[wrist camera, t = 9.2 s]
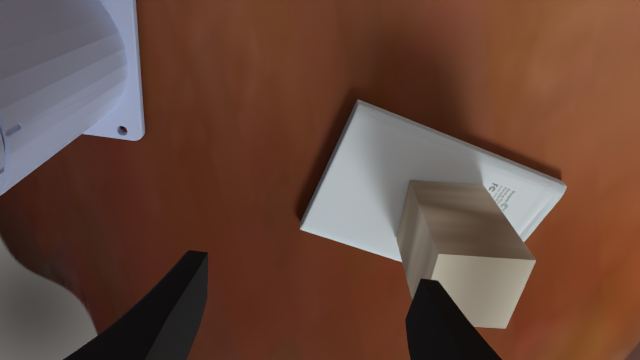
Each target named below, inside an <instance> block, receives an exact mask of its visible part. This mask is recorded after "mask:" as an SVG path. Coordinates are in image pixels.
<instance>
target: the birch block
mask: <svg viewBox="0 0 640 360" xmlns="http://www.w3.org/2000/svg"><path fill="white" fill-rule="evenodd" d="M396 241H397V244H398V248H399V252H400V256H401V260H402V263H403V267H404V271H405V275H406V279H407V282H408V286H409V290H410V294H411V298H412V301H413V298H414V295H415V292H416V290H417V287H418V284H419V282H420V279H421V278H422V279H430V280H438V281H439V282H440V284H441V285H442V286H443V287H444V289H445V290H446V291H447V293H448V294H449V295H450V297H451V298H452V300H453V301H454V302H455V303H456V305H457V306H458V307H459V309H460V310H461V311H462V313H463V314H464V315H465V317H466V318H467V319H468V320H469V322H470V323H471V324H472V325H473V327H488V328H505V329H506V327H507V324H508V322H509V320H510V318H511V315H512V313H513V311H514V309H515V307H516V304H517V302H518V300H519V298H520V295H521V293H522V291H523V289H524V286H525V284H526V282H527V280H528V278H529V275H530V273H531V271H532V269H533V266H534V264H535V262H536V259H535V258H534V257H533V255H532V254H531V252H530V251H529V249H528V248H527V247H526V245H525V244H524V242H523V241H522V239H521V238H520V236H519V235H518V234H517V232H516V231H515V229H514V228H513V226H512V225H511V224H510V222H509V221H508V219H507V218H506V216H505V215H504V214H503V212H502V211H501V209H500V208H499V206H498V205H497V204H496V202H495V201H494V199H493V198H492V196H491V195H490V193H489V192H488V191H487V189H486V188H485V186H484V185H471V184H458V183H444V182H431V181H417V180H410V181H409V185H408V190H407V194H406V199H405V203H404V208H403V212H402V217H401V221H400V226H399V231H398V235H397V240H396Z"/></svg>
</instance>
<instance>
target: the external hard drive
mask: <svg viewBox="0 0 640 360" xmlns="http://www.w3.org/2000/svg"><path fill="white" fill-rule="evenodd" d="M410 180H417V181H431V182H444V183H458V184H471V185H484V186H485V188H486V189H487V191H488V192H489V193H490V195H491V196H492V198H493V199H494V201H495V202H496V204H497V205H498V206H499V208H500V209H501V211H502V212H503V214H504V215H505V216H506V218H507V219H508V221H509V222H510V224H511V225H512V226H513V228H514V229H515V231H516V232H517V234H518V235H519V236H520V238H521V239H522V241H523V242H525V240H526V239H527V238H528V237H529V236H530V234H531V233H532V232H533V231H534V230H535V228H536V227H537V226H538V225H539V224H540V222H541V221H542V220H543V219H544V217H545V216H546V215H547V214H548V213H549V212H550V210H551V209H552V208H553V207H554V206H555V204H556V203H557V202H558V201H559V200H560V198H561V197H562V196H563V194H564V192H565V190H566V188H567V186H566V185H565V184H564V183H563V182H562V181H561V180H559V179H556V178H554V177H551V176H549V175H546V174H544V173H541V172H539V171H536V170H534V169H532V168H529V167H527V166H524V165H522V164H519V163H517V162H514V161H512V160H509V159H507V158H504V157H502V156H499V155H497V154H494V153H492V152H489V151H487V150H484V149H482V148H479V147H477V146H474V145H472V144H469V143H467V142H464V141H462V140H459V139H457V138H454V137H452V136H449V135H447V134H444V133H442V132H439V131H437V130H434V129H432V128H429V127H427V126H424V125H422V124H419V123H417V122H414V121H412V120H409V119H407V118H404V117H402V116H399V115H397V114H394V113H392V112H389V111H387V110H384V109H382V108H379V107H377V106H374V105H371V104H369V103H366V102H364V101H361V100H359V99H357V101H356V103H355V105H354V107H353V110H352V112H351V114H350V116H349V118H348V121H347V123H346V125H345V127H344V129H343V131H342V134H341V136H340V138H339V140H338V142H337V144H336V147H335V149H334V151H333V153H332V155H331V157H330V159H329V162H328V164H327V166H326V168H325V170H324V172H323V175H322V177H321V179H320V181H319V183H318V185H317V188H316V190H315V192H314V194H313V196H312V198H311V200H310V203H309V205H308V207H307V209H306V211H305V213H304V215H303V218H302V220H301V222H300V229H301V230H303V231H307V232H310V233H313V234H316V235H319V236H322V237H325V238H329V239H332V240H335V241H338V242H341V243H344V244H347V245H350V246H353V247H356V248H360V249H363V250H366V251H369V252H372V253H375V254H378V255H381V256H385V257H388V258H391V259H394V260H397V261H400V262H402V260H401V256H400V252H399V248H398V244H397V241H396V240H397V235H398V231H399V226H400V221H401V217H402V212H403V208H404V203H405V199H406V194H407V190H408V185H409V181H410Z"/></svg>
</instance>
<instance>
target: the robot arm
mask: <svg viewBox="0 0 640 360" xmlns="http://www.w3.org/2000/svg"><path fill="white" fill-rule="evenodd" d="M120 126H123V127H125V128H126V129H127V132H123V131H122V130H121V128H120ZM144 133H145V126H144V112H143V98H142V83H141V69H140V55H139V41H138V27H137V13H136V0H0V196H1V195H2V194H3V193H5V192H6V191H7V190H8V189H10V188H11V187H12V186H14V185H15V184H16V183H18V182H19V181H20V180H22V179H23V178H24V177H26V176H27V175H28V174H29V173H31V172H32V171H33V170H35V169H36V168H37V167H39V166H40V165H41V164H43V163H44V162H45V161H47V160H48V159H49V158H50V157H52V156H53V155H54V154H56V153H57V152H58V151H60V150H61V149H62V148H64V147H65V146H66V145H68V144H69V143H70V142H72V141H73V140H74V139H75V138H77V137H78V136H79V135H81V134H88V135H96V136H103V137H110V138H118V139H125V140H132V141H137V140H139V139H141V138H142V137H143V135H144ZM207 284H208V253H207V252H199V251H191V250H189V251H188V252H186V253H185V254H184V256H183V257H182V258H181V259H180V260H179V261H178V262H177V264H176V265H175V266H174V267H173V268H172V269H171V270H170V271H169V272H168V273H167V274H166V275H165V276H164V277H163V279H162V280H161V281H160V282H159V283H158V284H157V285H156V286H154V287H153V288H152V289H151V290H150V291H149V292H148V293H147V294H146V295H145V296H144V297H143V298H142V299H141V300H140V301H139V302H138V303H137V304H135V305H134V306H133V307H132V308H131V309H130V310H129V311H128V312H126V313H125V314H124V315H123V316H122V317H121V318H119V319H118V320H117V321H116V322H115V323H113V324H112V325H111V326H110V327H108V328H107V329H106V330H104V331H103V332H102V333H100V334H99V335H98V336H96V337H95V338H94V339H93V340H91V341H90V342H88V343H87V344H85V345H84V346H82V347H81V348H80V349H78V350H77V351H76V352H74V353H72V354H71V355H69V356H68V357H66V358H65V359H63V360H186V359H187V357H188V354H189V352H190V349H191V347H192V344H193V341H194V339H195V336H196V334H197V331H198V329H199V326H200V323H201V319H202V315H203V312H204V308H205V304H206V300H207ZM406 331H407V340H408V348H409V353H410V358H411V360H502V359H501V358H500V357H499V356H498V355H497V354H496V352H495V351H494V350H493V349H492V348H491V347H490V346H489V345H488V343H487V342H486V341H485V340H484V339H483V338H482V336H481V335H480V334H479V333H478V332H477V330H476V329H475V328H474V327H473V325H472V324H471V323H470V322H469V320H468V319H467V318H466V317H465V315H464V314H463V313H462V311H461V310H460V309H459V307H458V306H457V305H456V303H455V302H454V301H453V300H452V298H451V297H450V295H449V294H448V293H447V291H446V290H445V289H444V287H443V286H442V285H441V284H440V282H439V281H438V280H430V279H422V278H421V279H420V282H419V284H418V287H417V290H416V292H415V295H414V298H413V301H412V303H411V306H410V309H409V312H408V314H407V317H406Z"/></svg>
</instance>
